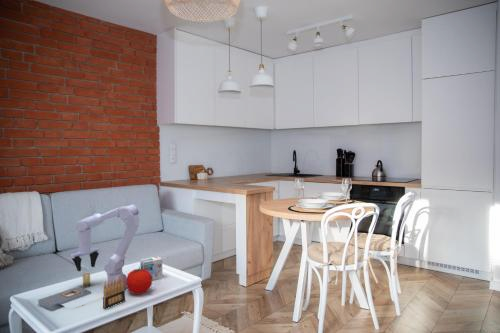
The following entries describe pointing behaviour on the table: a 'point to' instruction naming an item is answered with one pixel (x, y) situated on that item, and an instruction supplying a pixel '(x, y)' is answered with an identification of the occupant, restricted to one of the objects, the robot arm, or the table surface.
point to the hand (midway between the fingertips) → (86, 268)
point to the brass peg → (86, 279)
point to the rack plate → (62, 298)
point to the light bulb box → (152, 266)
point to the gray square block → (86, 287)
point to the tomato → (139, 281)
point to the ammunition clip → (113, 293)
